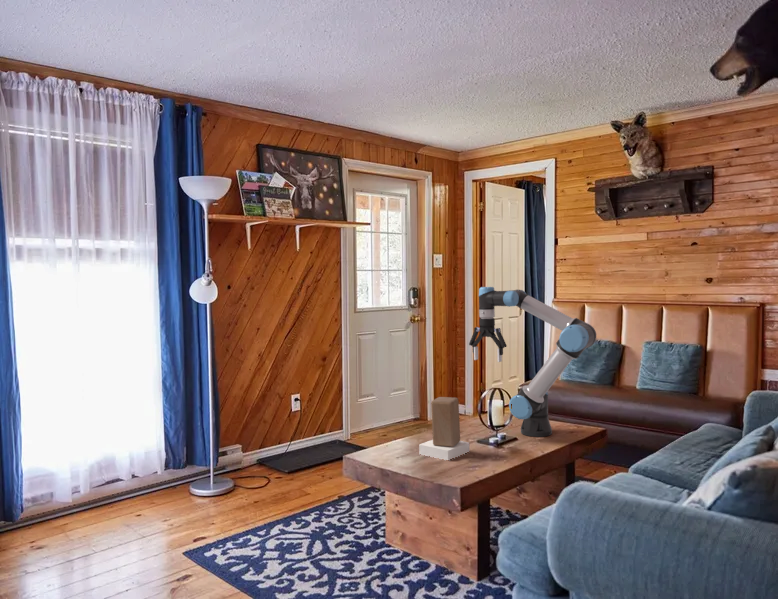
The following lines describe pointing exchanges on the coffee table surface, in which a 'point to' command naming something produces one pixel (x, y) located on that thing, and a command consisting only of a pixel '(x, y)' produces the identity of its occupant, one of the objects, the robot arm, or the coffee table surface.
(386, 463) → the coffee table surface
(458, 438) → the block
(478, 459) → the coffee table surface
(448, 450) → the base block
